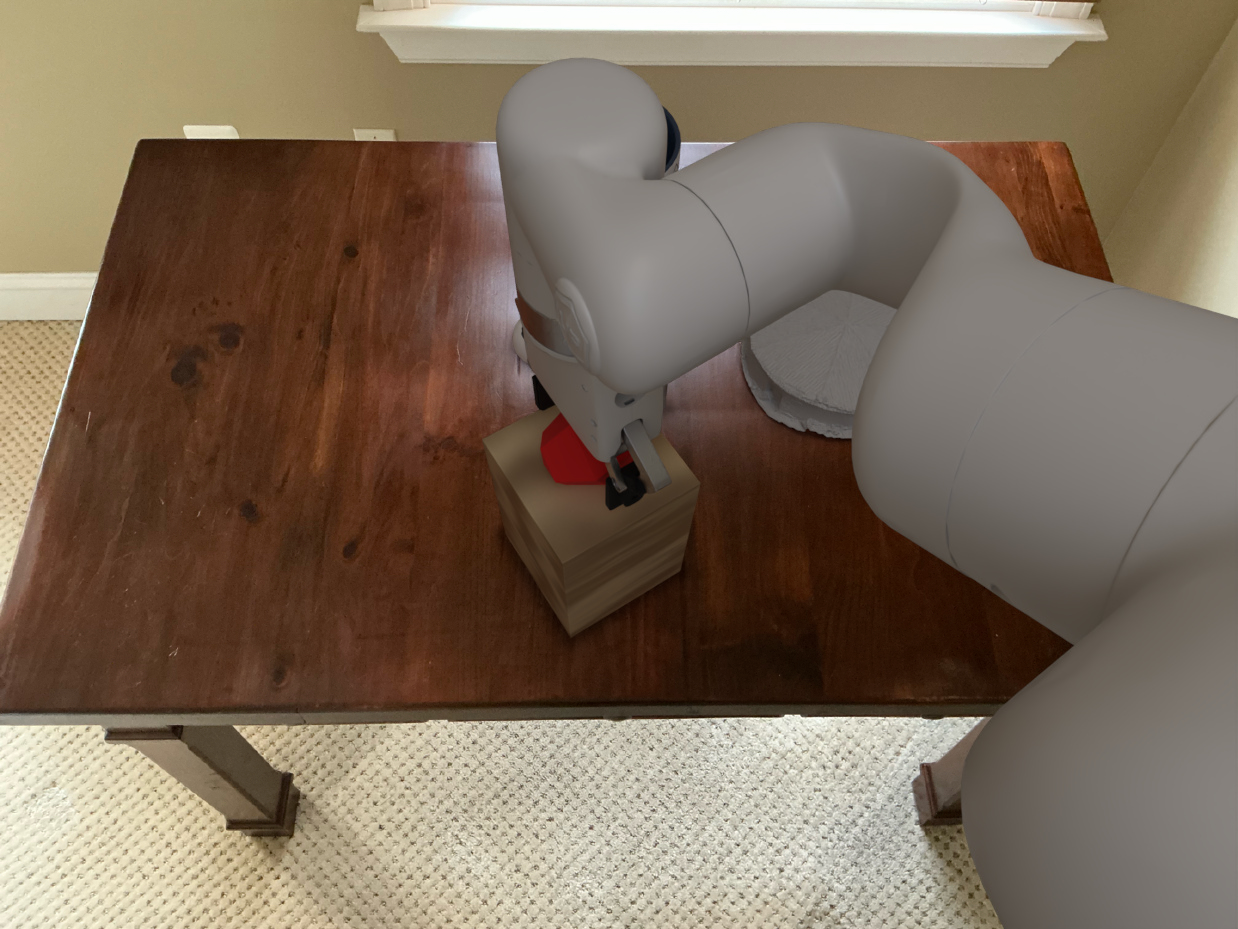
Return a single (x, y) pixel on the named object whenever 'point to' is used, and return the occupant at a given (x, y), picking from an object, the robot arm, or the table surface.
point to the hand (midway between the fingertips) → (589, 447)
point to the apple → (572, 456)
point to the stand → (587, 526)
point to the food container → (816, 361)
